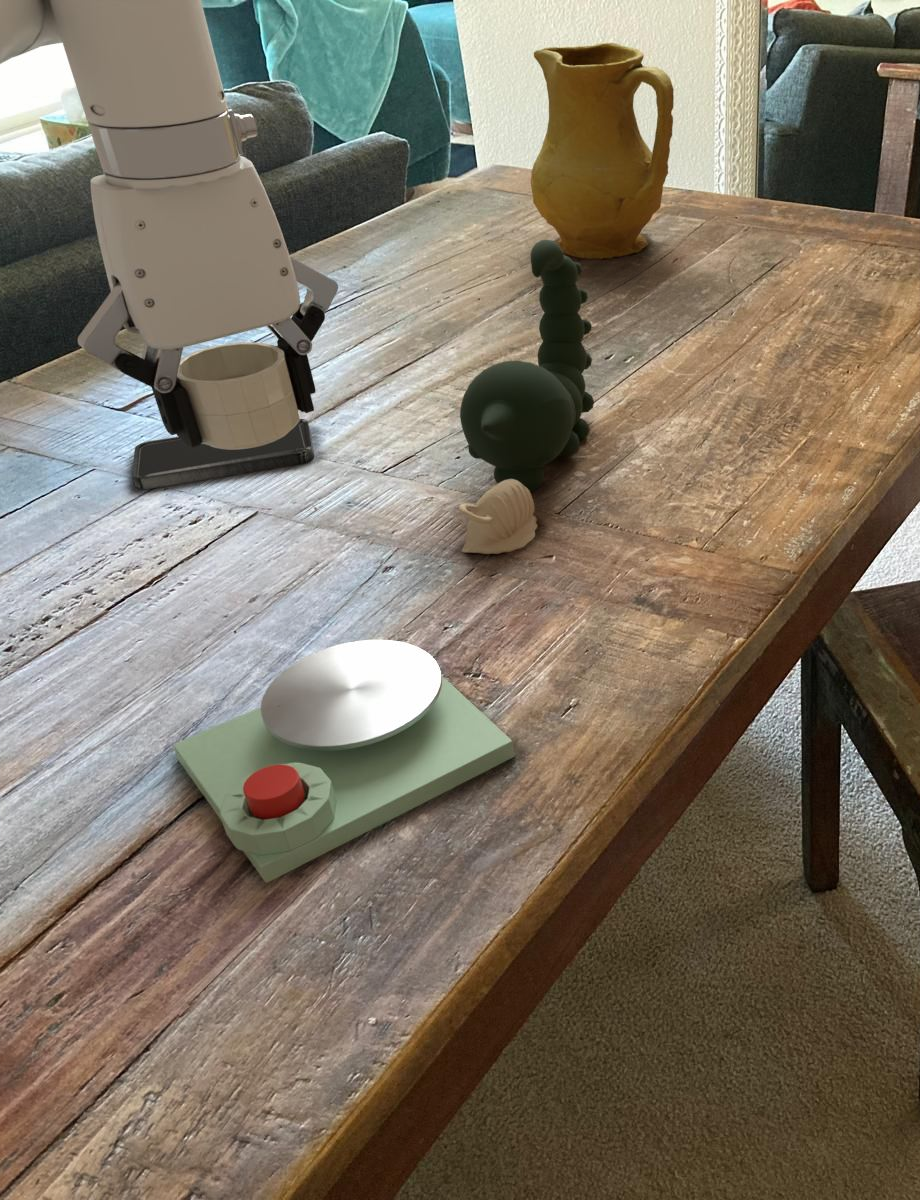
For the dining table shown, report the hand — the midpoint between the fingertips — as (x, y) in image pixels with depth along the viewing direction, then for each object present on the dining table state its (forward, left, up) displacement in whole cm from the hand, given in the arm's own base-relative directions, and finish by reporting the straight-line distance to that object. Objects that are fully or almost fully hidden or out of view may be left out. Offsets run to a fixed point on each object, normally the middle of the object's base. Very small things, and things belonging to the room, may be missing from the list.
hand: (245, 420), depth 80 cm
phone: (+5, +29, -16) cm, 34 cm away
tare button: (-10, -22, -13) cm, 27 cm away
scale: (-5, -18, -16) cm, 24 cm away
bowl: (0, 0, -1) cm, 1 cm away
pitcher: (+67, +58, -16) cm, 91 cm away
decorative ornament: (+16, -1, -16) cm, 23 cm away
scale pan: (-3, -16, -13) cm, 20 cm away
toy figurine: (+27, +10, -16) cm, 33 cm away
